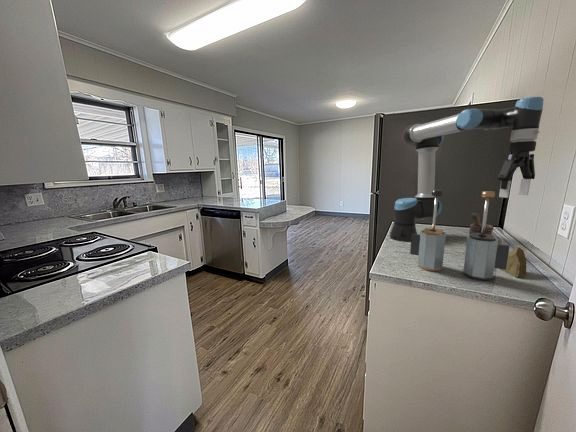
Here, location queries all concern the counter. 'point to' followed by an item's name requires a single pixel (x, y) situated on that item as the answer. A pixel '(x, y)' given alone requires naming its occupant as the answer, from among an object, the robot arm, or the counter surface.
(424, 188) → the robot arm
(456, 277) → the counter surface
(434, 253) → the grey faceted cylinder
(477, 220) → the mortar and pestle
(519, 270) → the rock
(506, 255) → the gray faceted mug
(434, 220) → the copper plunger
